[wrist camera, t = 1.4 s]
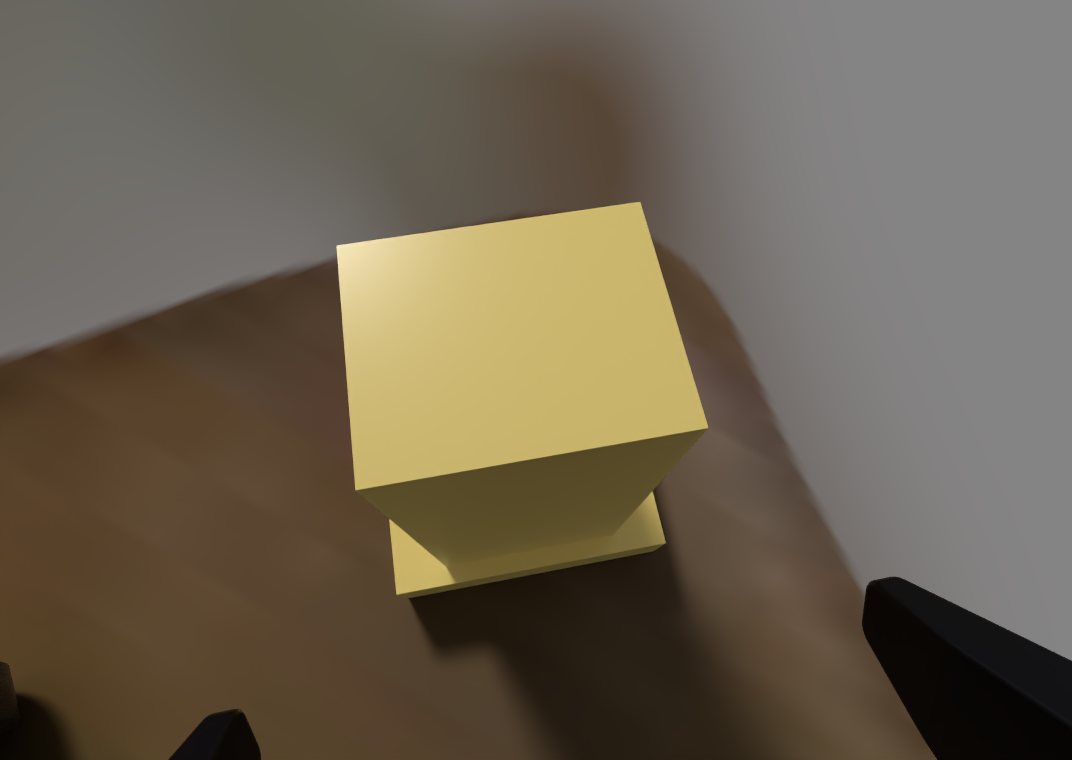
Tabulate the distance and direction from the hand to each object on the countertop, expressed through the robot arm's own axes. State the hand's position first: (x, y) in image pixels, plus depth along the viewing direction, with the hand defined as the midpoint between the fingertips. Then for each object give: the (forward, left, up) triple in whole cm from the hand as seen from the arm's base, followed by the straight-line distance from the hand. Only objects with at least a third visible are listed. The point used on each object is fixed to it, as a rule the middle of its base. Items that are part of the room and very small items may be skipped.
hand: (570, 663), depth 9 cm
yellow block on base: (+4, -3, -11) cm, 12 cm away
